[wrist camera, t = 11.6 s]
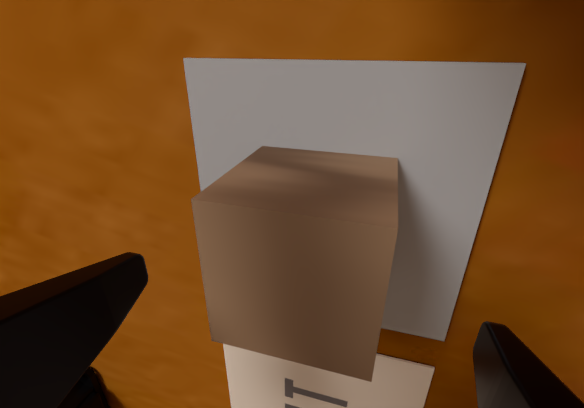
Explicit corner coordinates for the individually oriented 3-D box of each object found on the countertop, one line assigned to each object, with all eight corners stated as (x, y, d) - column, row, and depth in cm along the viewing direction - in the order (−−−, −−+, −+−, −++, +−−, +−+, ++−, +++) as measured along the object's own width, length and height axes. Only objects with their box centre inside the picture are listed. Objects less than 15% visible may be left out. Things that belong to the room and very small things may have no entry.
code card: (235, 433, 23) (234, 435, 23) (220, 316, 18) (219, 318, 18) (399, 487, 20) (399, 489, 20) (434, 366, 15) (434, 369, 15)
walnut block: (266, 253, 15) (211, 340, 10) (262, 145, 12) (190, 199, 8) (379, 273, 13) (371, 382, 9) (397, 158, 11) (398, 228, 7)
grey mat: (217, 288, 17) (214, 292, 17) (187, 57, 12) (183, 58, 12) (443, 335, 14) (444, 341, 14) (522, 62, 9) (526, 63, 9)
